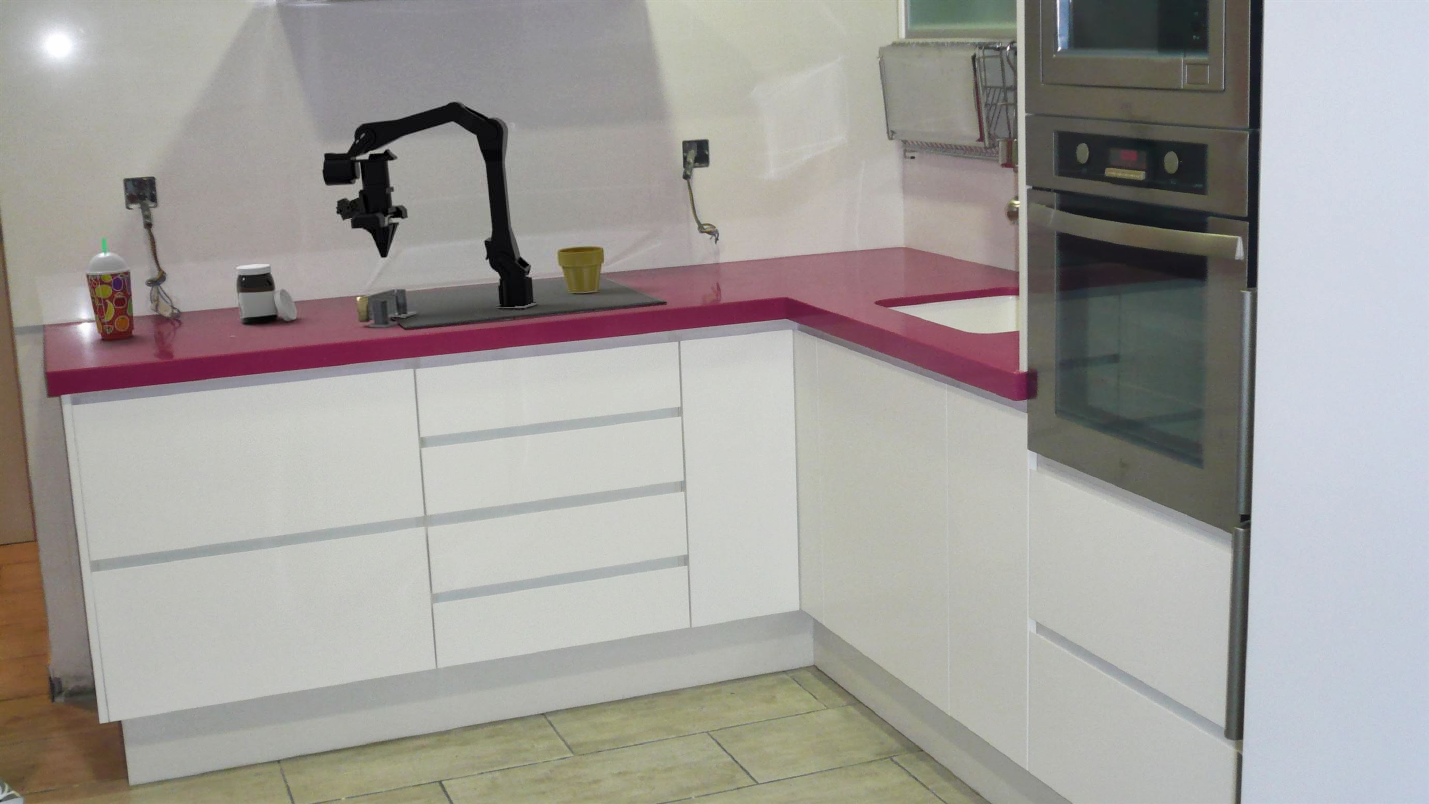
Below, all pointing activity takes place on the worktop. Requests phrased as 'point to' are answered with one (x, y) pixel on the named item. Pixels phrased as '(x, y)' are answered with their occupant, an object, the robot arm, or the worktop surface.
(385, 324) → the post
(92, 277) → the smoothie
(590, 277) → the plant pot
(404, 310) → the hinge post
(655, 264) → the worktop surface
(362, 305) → the gate
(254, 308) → the spread jar
